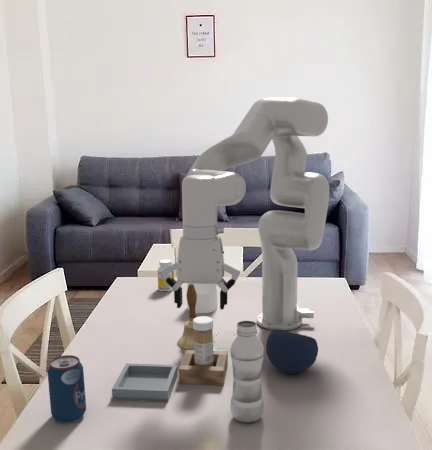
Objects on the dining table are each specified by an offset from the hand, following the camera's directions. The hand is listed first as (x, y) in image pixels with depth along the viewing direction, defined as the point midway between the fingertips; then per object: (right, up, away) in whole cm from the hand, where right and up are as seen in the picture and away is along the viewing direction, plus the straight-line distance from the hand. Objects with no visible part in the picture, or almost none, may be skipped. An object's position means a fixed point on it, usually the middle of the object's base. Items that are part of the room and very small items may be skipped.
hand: (201, 306), depth 134 cm
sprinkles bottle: (+1, -16, +4) cm, 17 cm away
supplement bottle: (-13, -3, +63) cm, 64 cm away
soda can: (-26, -21, -12) cm, 36 cm away
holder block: (+1, -16, +4) cm, 17 cm away
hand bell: (-2, -12, +21) cm, 25 cm away
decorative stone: (+21, -16, +5) cm, 27 cm away
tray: (-12, -18, -1) cm, 21 cm away
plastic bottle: (+10, -20, -14) cm, 27 cm away
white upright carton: (-1, -7, +46) cm, 46 cm away
